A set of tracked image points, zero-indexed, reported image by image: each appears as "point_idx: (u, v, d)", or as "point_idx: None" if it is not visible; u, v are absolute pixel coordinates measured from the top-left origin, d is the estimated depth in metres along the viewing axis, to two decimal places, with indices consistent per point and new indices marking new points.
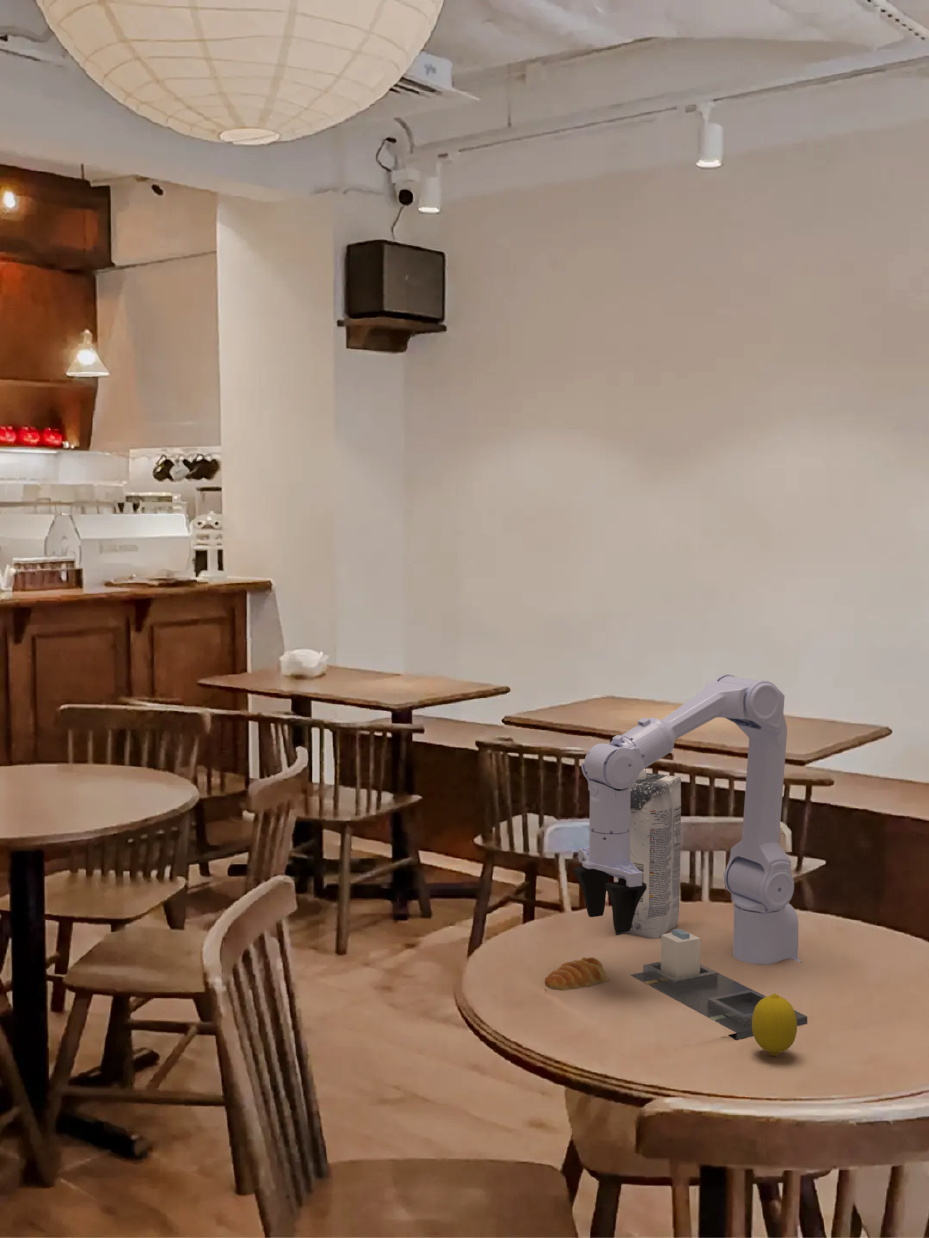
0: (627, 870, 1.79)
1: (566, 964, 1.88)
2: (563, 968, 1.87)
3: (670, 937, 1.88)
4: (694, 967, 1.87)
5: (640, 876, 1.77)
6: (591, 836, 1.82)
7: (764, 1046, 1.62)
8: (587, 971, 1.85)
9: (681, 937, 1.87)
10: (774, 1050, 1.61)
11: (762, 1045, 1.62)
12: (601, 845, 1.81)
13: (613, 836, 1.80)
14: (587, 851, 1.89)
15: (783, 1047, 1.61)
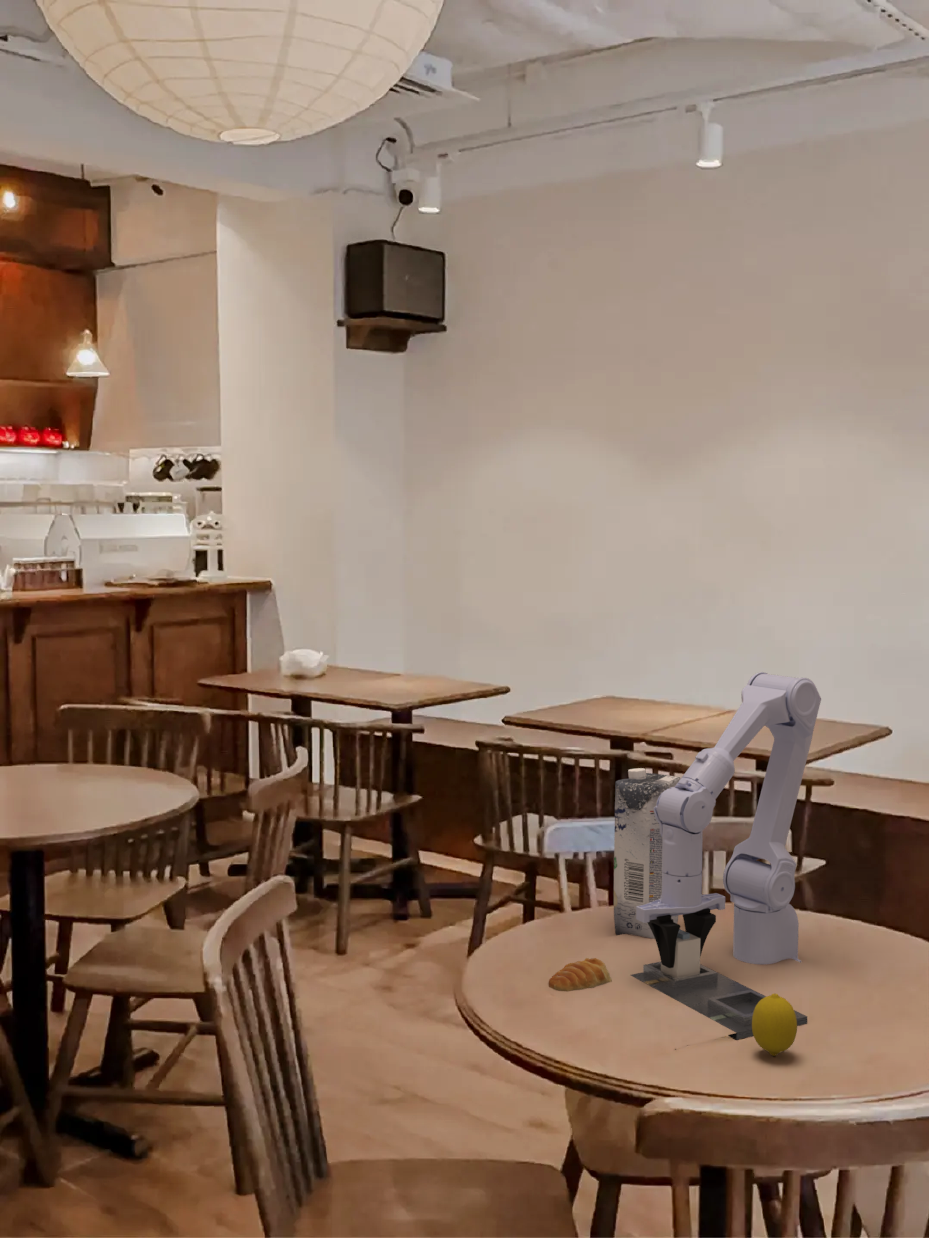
0: None
1: (569, 965, 1.88)
2: (567, 969, 1.86)
3: None
4: (694, 967, 1.87)
5: (642, 913, 1.84)
6: None
7: (764, 1046, 1.62)
8: (591, 972, 1.85)
9: (681, 937, 1.87)
10: (774, 1050, 1.61)
11: (762, 1045, 1.62)
12: None
13: (662, 874, 1.87)
14: None
15: (783, 1047, 1.61)
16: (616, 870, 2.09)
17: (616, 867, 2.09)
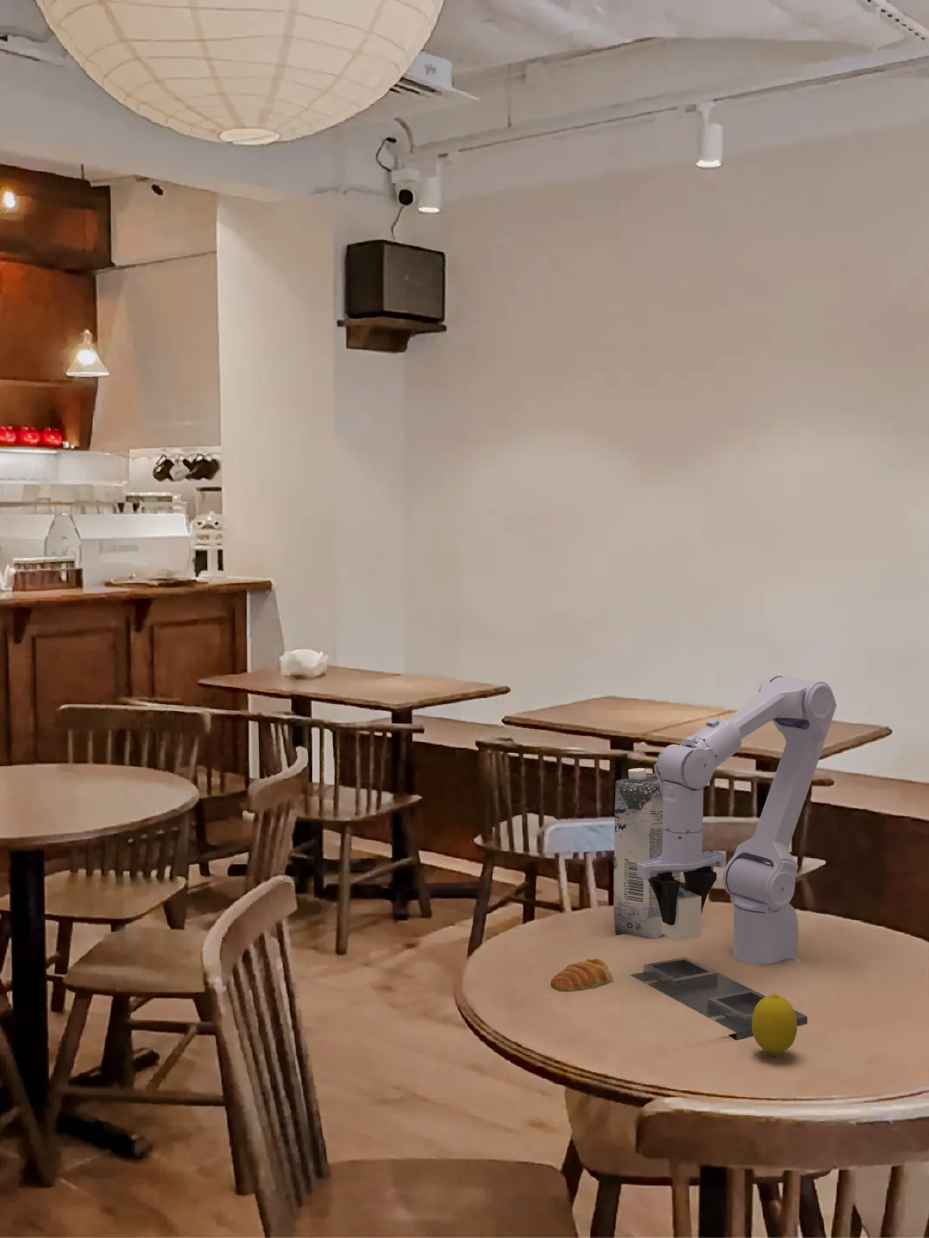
0: None
1: (571, 965, 1.88)
2: (569, 970, 1.86)
3: None
4: (695, 925, 1.87)
5: (643, 870, 1.83)
6: None
7: (764, 1046, 1.62)
8: (593, 972, 1.85)
9: (682, 895, 1.86)
10: (774, 1050, 1.61)
11: (762, 1045, 1.62)
12: None
13: (663, 831, 1.86)
14: None
15: (783, 1047, 1.61)
16: (616, 870, 2.09)
17: (616, 867, 2.09)
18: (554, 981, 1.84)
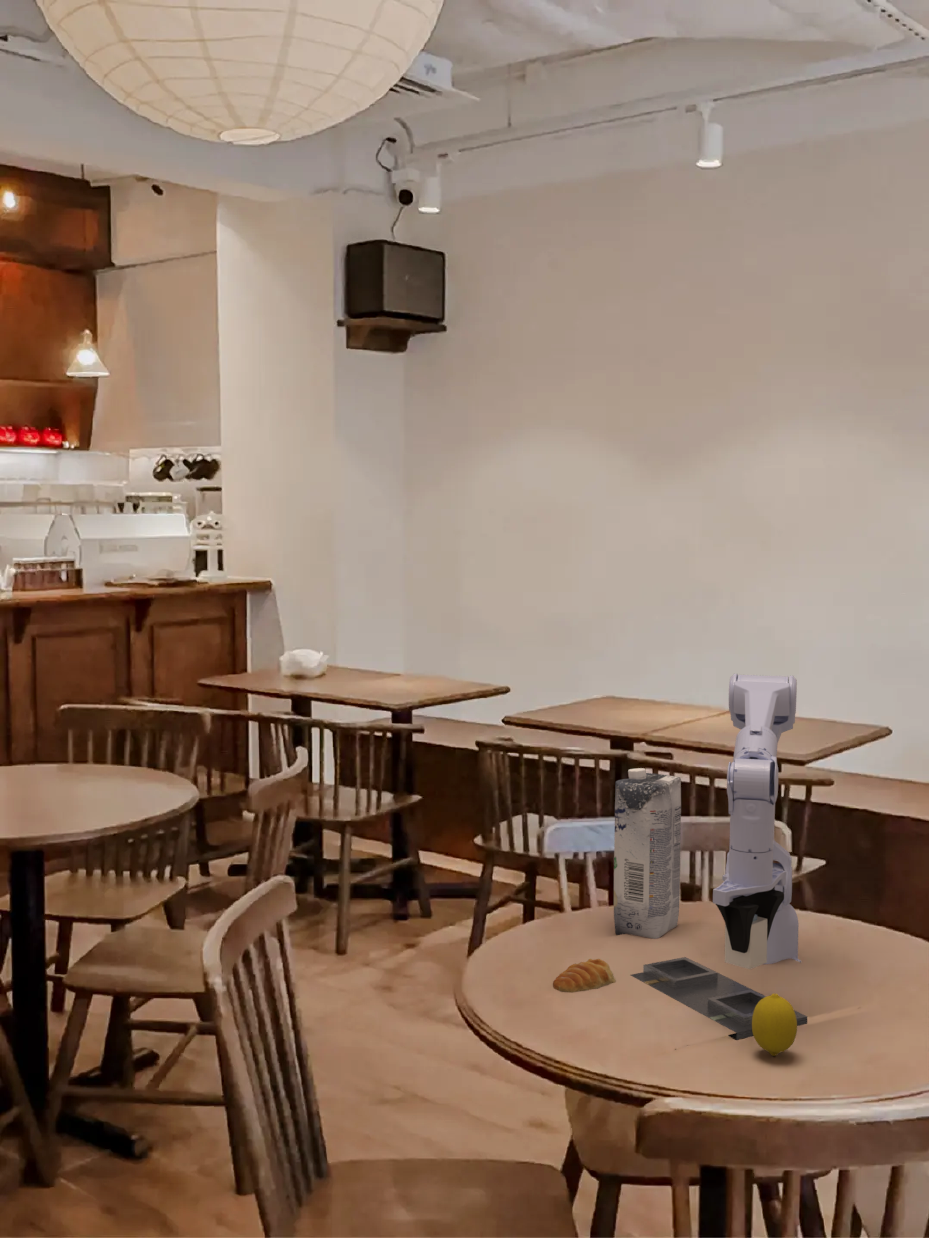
0: None
1: (573, 966, 1.87)
2: (571, 970, 1.86)
3: None
4: (763, 950, 1.74)
5: (723, 896, 1.68)
6: None
7: (764, 1046, 1.62)
8: (595, 973, 1.85)
9: None
10: (774, 1050, 1.61)
11: (762, 1045, 1.62)
12: (729, 859, 1.74)
13: (733, 852, 1.72)
14: None
15: (783, 1047, 1.61)
16: (616, 870, 2.09)
17: (616, 867, 2.09)
18: (556, 982, 1.84)
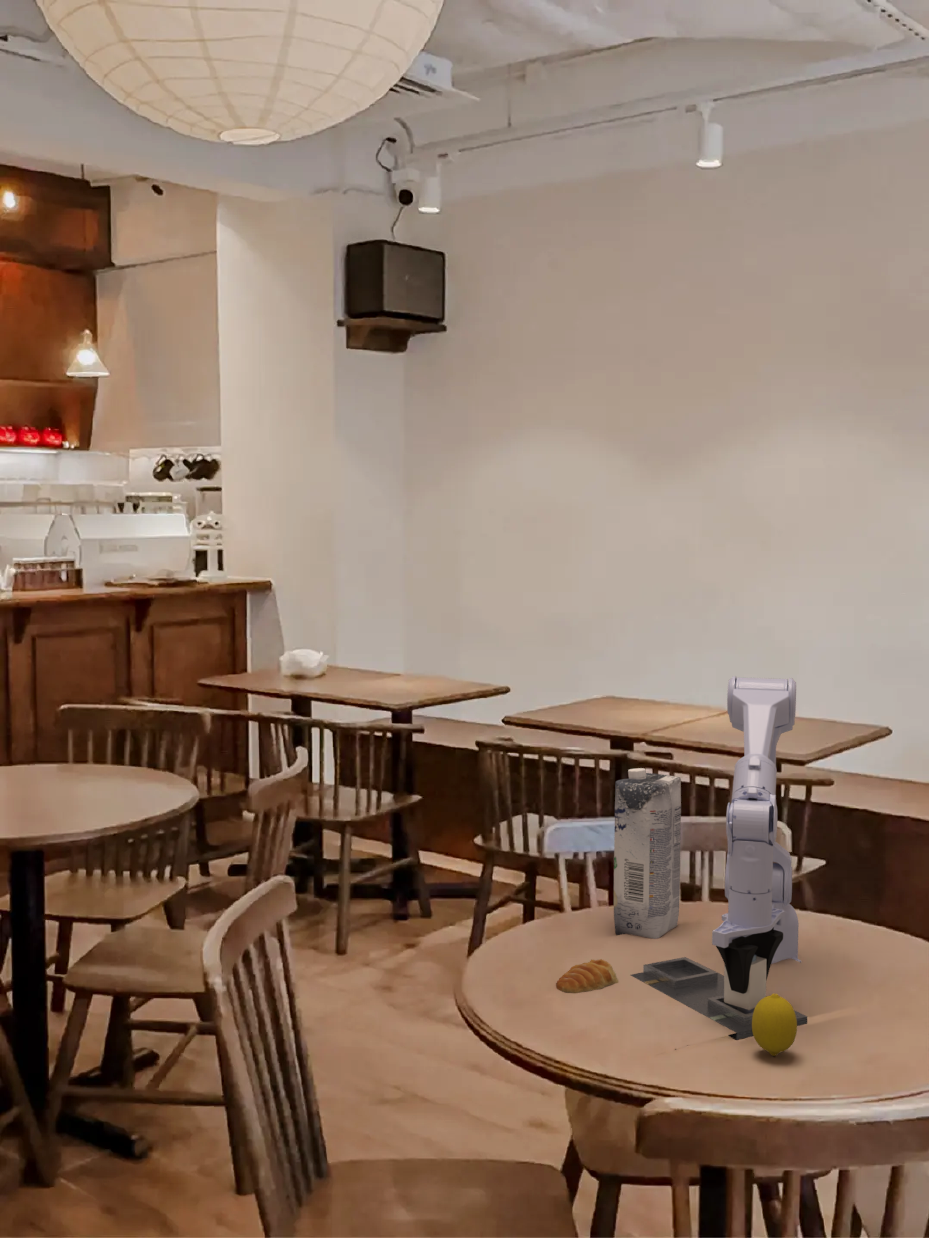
0: None
1: (576, 967, 1.87)
2: (574, 971, 1.85)
3: None
4: (762, 990, 1.75)
5: (722, 937, 1.69)
6: None
7: (764, 1046, 1.62)
8: (598, 973, 1.84)
9: None
10: (774, 1050, 1.61)
11: (762, 1045, 1.62)
12: (728, 899, 1.75)
13: (732, 893, 1.73)
14: None
15: (783, 1047, 1.61)
16: (616, 870, 2.09)
17: (616, 867, 2.09)
18: (560, 983, 1.84)
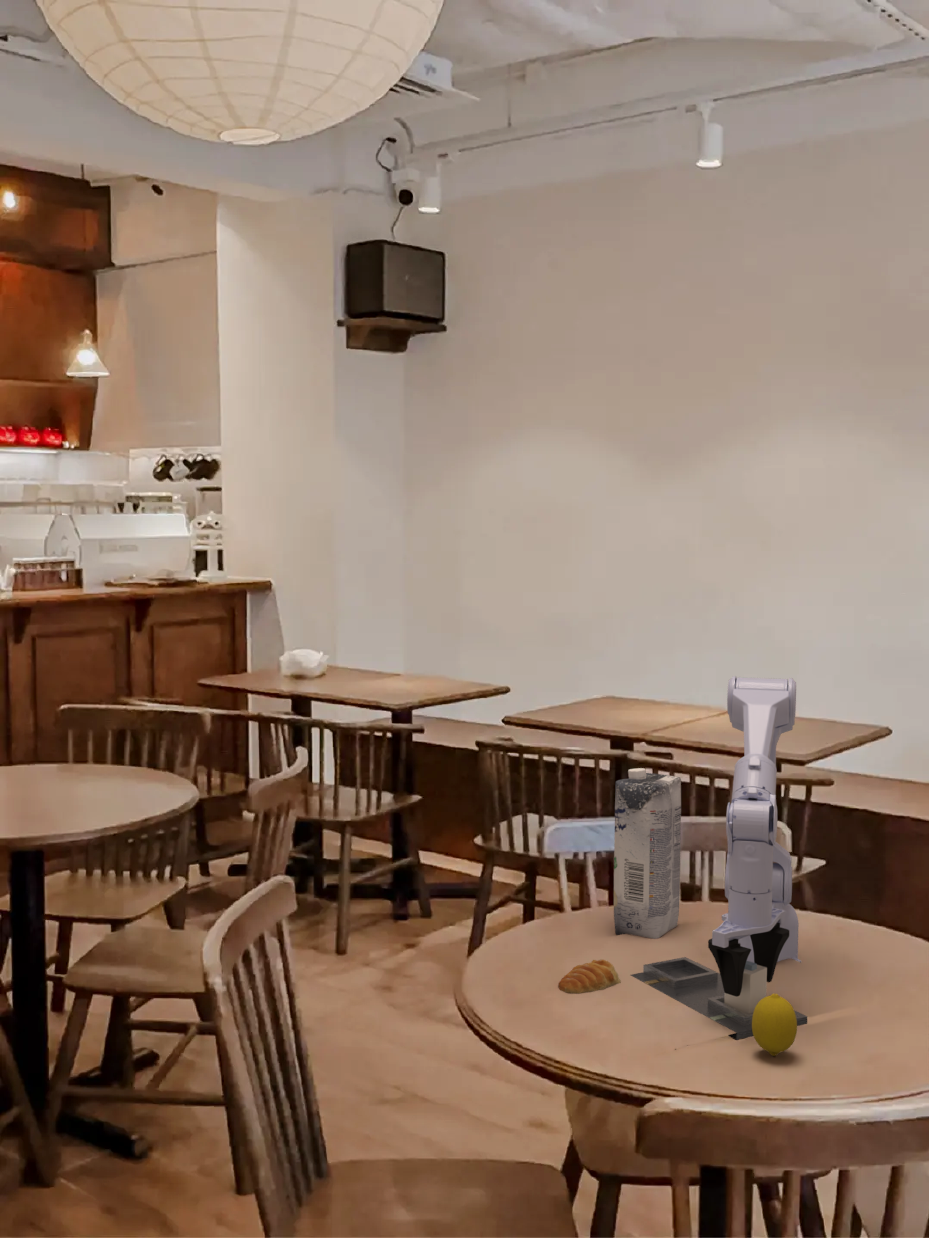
0: None
1: (578, 967, 1.87)
2: (576, 971, 1.85)
3: None
4: None
5: (722, 937, 1.69)
6: None
7: (764, 1046, 1.62)
8: (601, 973, 1.84)
9: (749, 968, 1.74)
10: (774, 1050, 1.61)
11: (762, 1045, 1.62)
12: (728, 899, 1.75)
13: (732, 892, 1.73)
14: None
15: (783, 1047, 1.61)
16: (616, 870, 2.09)
17: (616, 867, 2.09)
18: (562, 983, 1.83)
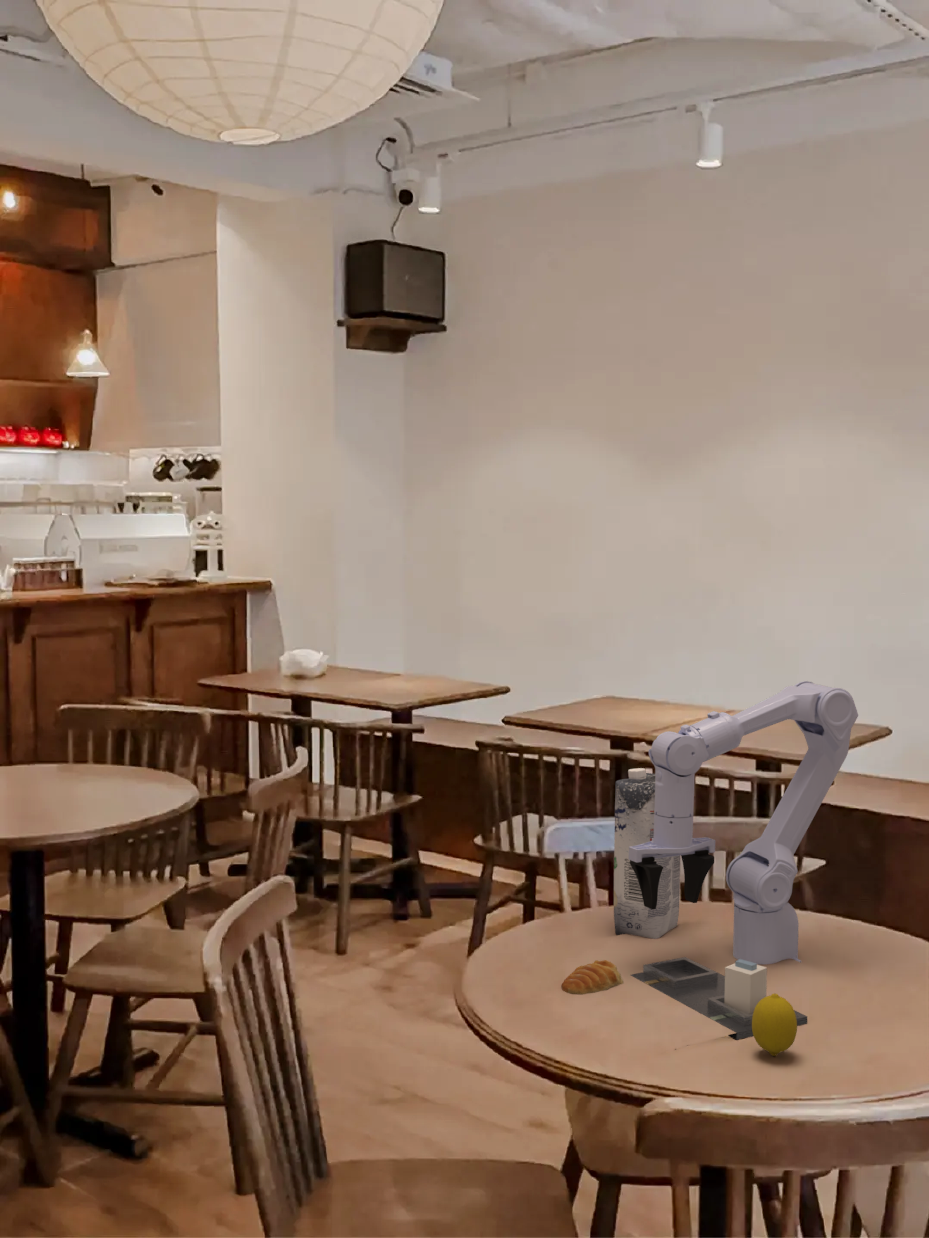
0: None
1: (581, 968, 1.87)
2: (579, 972, 1.85)
3: (737, 969, 1.74)
4: None
5: (635, 853, 1.88)
6: None
7: (764, 1046, 1.62)
8: (604, 974, 1.84)
9: (749, 968, 1.74)
10: (774, 1050, 1.61)
11: (762, 1045, 1.62)
12: None
13: (655, 816, 1.91)
14: None
15: (783, 1047, 1.61)
16: (616, 870, 2.09)
17: (616, 867, 2.09)
18: (565, 984, 1.83)
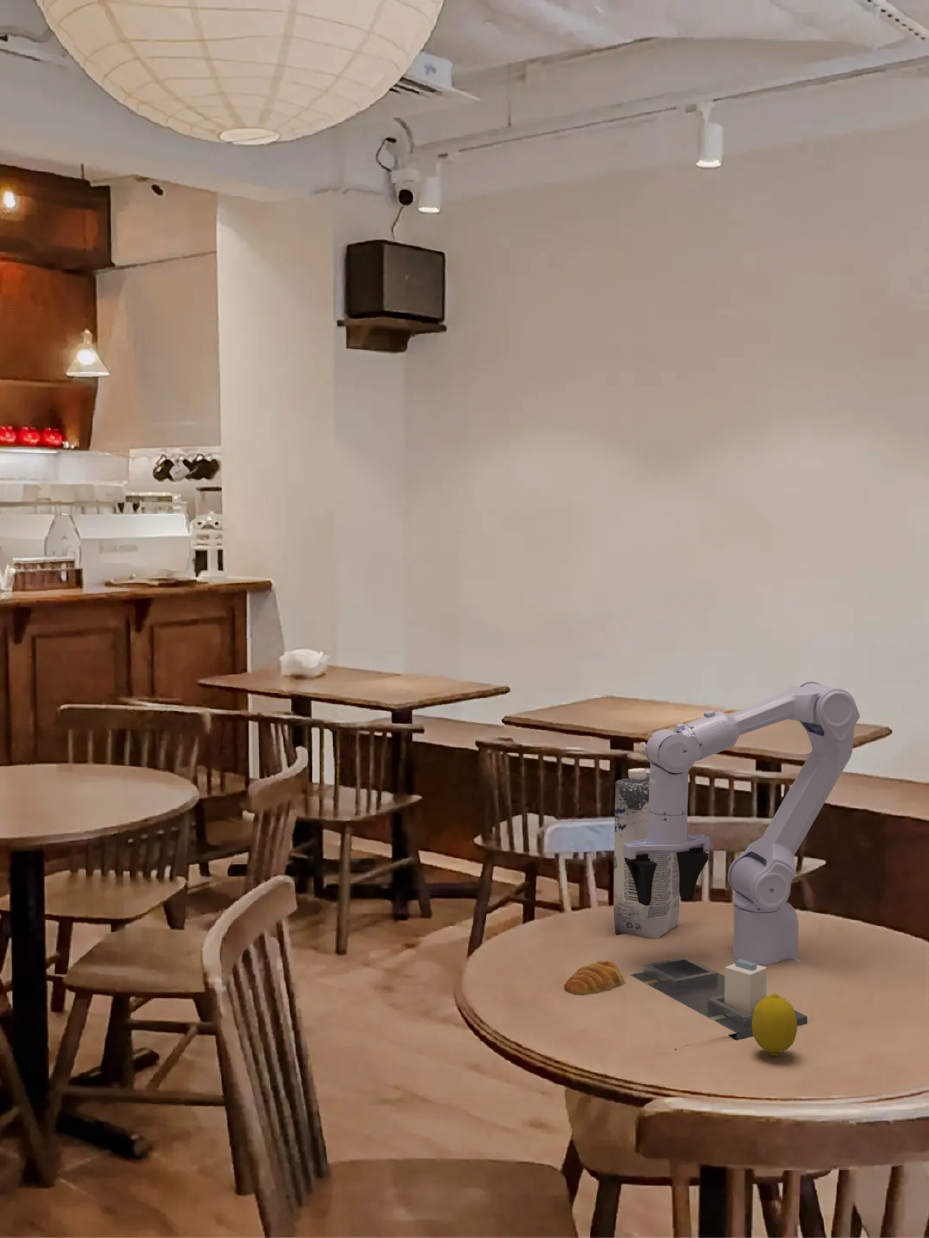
0: None
1: (583, 968, 1.86)
2: (582, 973, 1.85)
3: (737, 969, 1.74)
4: None
5: (629, 850, 1.89)
6: None
7: (764, 1046, 1.62)
8: (607, 975, 1.84)
9: (749, 968, 1.74)
10: (774, 1050, 1.61)
11: (762, 1045, 1.62)
12: None
13: (649, 813, 1.93)
14: None
15: (783, 1047, 1.61)
16: (616, 870, 2.09)
17: (616, 867, 2.09)
18: (568, 985, 1.83)
